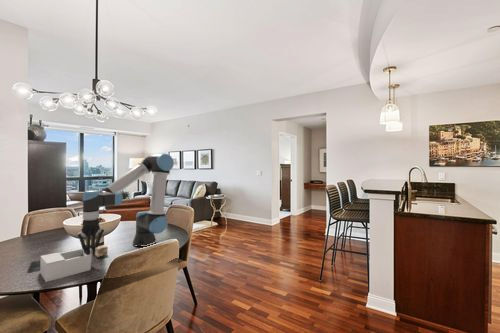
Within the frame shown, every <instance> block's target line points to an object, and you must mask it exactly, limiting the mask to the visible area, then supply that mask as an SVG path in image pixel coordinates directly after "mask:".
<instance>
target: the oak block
mask: <svg viewBox="0 0 500 333" xmlns="http://www.w3.org/2000/svg"><path fill="white" fill-rule="evenodd" d="M106 254H107V255H108V246H107V245H106V244H103V245H99V246H98V247H96V248H95V250H94V255H95V256H96V257H97V258H100V256H101V257H104V256H103V255H105V256H107V255H106Z"/></svg>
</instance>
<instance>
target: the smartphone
mask: <svg viewBox="0 0 500 333" xmlns="http://www.w3.org/2000/svg"><path fill="white" fill-rule="evenodd" d="M40 262H41V260H36V261H31V262H30V264H29V267H28V269H27V272H28V273H27V274H30V273H35V272H40Z"/></svg>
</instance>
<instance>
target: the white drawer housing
mask: <svg viewBox="0 0 500 333" xmlns="http://www.w3.org/2000/svg"><path fill="white" fill-rule="evenodd" d="M84 251H85V250H84V249H82V248H79V249H78V248H77V249H73V250H68V251H63V252H55V253H49V254H43V255H40V261H41V262H40V271H39V274H40V275H41V276H42V278H43V280H44V281H45V282H46V283H47V282H51V281H56V280H58V279H63V278H66V277H69V276H73V275H76V274H81V273H83V272H88V271H91V270H92V262H91V254H89V255H87V254H86V255H85V256H82V253H84Z"/></svg>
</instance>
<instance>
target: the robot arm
mask: <svg viewBox="0 0 500 333" xmlns="http://www.w3.org/2000/svg"><path fill="white" fill-rule="evenodd" d="M174 165H175V162H174V159H173V157H172V156H171V155H170V154H168V153H163V152H162V153H152V154H150V155H148V156H146V157H145V158H144V159H142V160H141V161H139V162H138V163H137V165H136V166H135V167H133V168H131V169H130V170H129V171H127V172H126V173H124V174H123V175H122V176H120V177H119V178H117V179H115V181H113V182H112V183H109V185H107V186H106V187H105V188H102V189H101V190H86V191H84V192H83V193H82V219H83V220H82V228H81V231H80V232H77V233H76V236H77V237H78V239H79V242H80V245H81V249H84V250H83V251H86V255H89V254H91V263H92V262H93V256H94V255H95V248H96V247H98V246H100V242H101V239H102V235H103V233H104V232H105V229H104V228H101V227H100V208H102V207H103V208H104V207H112V206H113V207H114V206H116V207H117V206H119V205H121V204H122V203H123V200H124V196H123V194H122V193H121V192H123V191H124V190H125V189H127V188H128V187H129V186H131V185H132V184H133V183H135V182H136V181H137V180H139V179H140V178H142V177H143V176H144V175H147V174H148V175H149V173H152V175H153V178H152V188H151V198H150V207H149V210H147V211H146V210H145V211H139V212H137V213H136V217H135V235H134V237H133V241H132V246H133V245H137V246H141V245H147V244H150V243H153V242H155V241H156V242H157V239H156V235H157V234H161V233H163V232H164V231H165V230H166V229H167V228H168V219H167V217H166V211H164V209H165V199H166V197H165V196H166V189H167V179H168V175H170V173H171V172H170V171H171V170H172V169H173V168H174ZM155 234H156V235H155ZM96 235H97V236H96ZM83 236H85V240H84V237H83ZM143 248H145V246H144V247H143Z"/></svg>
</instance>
